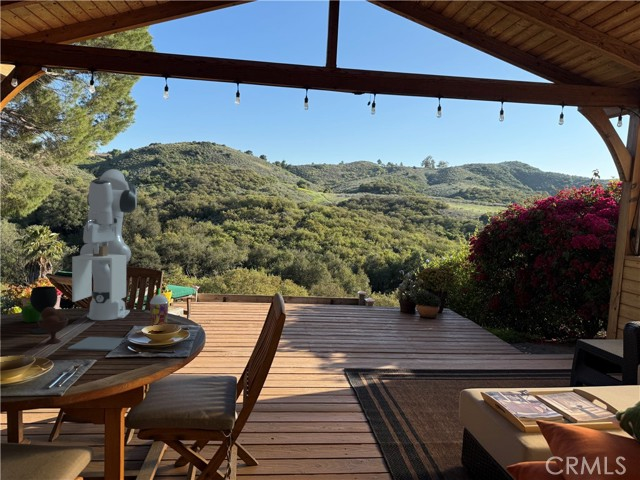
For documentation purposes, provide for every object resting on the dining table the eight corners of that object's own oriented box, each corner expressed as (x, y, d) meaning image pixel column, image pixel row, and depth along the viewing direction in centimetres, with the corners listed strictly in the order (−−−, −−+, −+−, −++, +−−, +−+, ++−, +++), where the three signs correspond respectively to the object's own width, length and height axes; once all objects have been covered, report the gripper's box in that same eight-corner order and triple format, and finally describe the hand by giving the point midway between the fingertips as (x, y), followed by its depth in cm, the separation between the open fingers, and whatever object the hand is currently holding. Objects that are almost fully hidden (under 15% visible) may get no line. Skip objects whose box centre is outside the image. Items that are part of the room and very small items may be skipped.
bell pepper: (43, 319, 214) (43, 299, 214) (41, 322, 207) (41, 302, 207) (23, 320, 211) (23, 300, 210) (20, 324, 203) (20, 303, 203)
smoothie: (154, 328, 204) (154, 286, 203) (171, 328, 204) (171, 287, 203) (146, 332, 196) (146, 289, 194) (164, 333, 195) (164, 290, 194)
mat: (88, 338, 184) (88, 336, 184) (130, 339, 184) (130, 338, 184) (67, 349, 168) (67, 348, 168) (112, 350, 169) (112, 349, 168)
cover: (89, 295, 182) (89, 244, 181) (126, 296, 182) (126, 245, 181) (72, 301, 169) (72, 246, 168) (111, 302, 169) (111, 248, 168)
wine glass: (45, 327, 199) (45, 285, 198) (62, 329, 196) (62, 286, 195) (24, 332, 190) (24, 288, 188) (42, 335, 187) (42, 290, 186)
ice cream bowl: (54, 347, 171) (54, 310, 170) (31, 344, 173) (30, 308, 172) (74, 339, 181) (74, 305, 180) (52, 337, 183) (52, 303, 183)
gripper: (95, 220, 163) (95, 255, 164) (119, 219, 184) (119, 251, 185) (78, 219, 163) (78, 255, 164) (105, 219, 184) (104, 250, 185)
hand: (100, 253), depth 175 cm, fingers closed on cover, 4 cm apart
